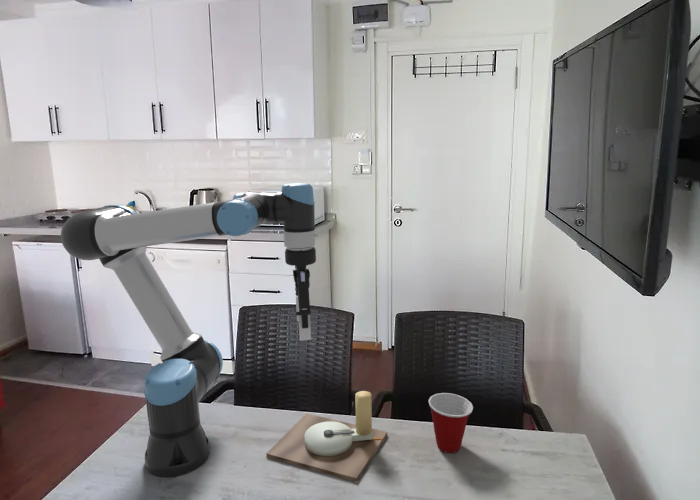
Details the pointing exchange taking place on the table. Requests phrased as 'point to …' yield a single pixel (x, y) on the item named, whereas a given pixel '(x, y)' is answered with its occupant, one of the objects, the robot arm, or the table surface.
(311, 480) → the table surface
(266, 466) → the table surface
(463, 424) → the plastic cup
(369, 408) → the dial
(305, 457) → the base plate
